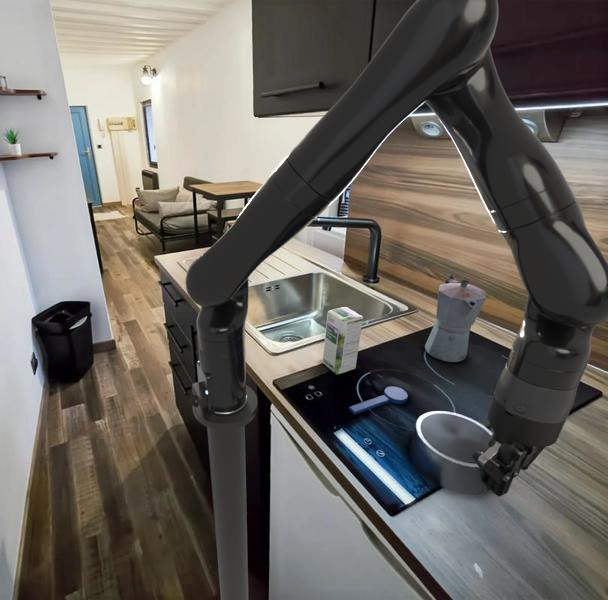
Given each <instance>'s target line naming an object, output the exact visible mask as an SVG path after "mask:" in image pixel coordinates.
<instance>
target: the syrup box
mask: <svg viewBox="0 0 608 600" xmlns="http://www.w3.org/2000/svg"><path fill="white" fill-rule="evenodd" d="M363 321H364V316H363V315H361V314H358V312H356V311H354V310H353V309H350V308H349V307H347V306H344V307H337V308H334V309H330V310H327V314H326V323H325V333H324V334H325V335H324V343H323V352H322V353H323V354H322V364H323V365H325V366H326V367H327V368H328V369H329V370H331V371H332V372H333V373H334V374H335V375H341V374H344V373H347V372H349V371H353V370H355V369H356V367H357V360H358V354H359V346H360V340H361V333H362V327H363Z"/></svg>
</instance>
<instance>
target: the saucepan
mask: <svg viewBox="0 0 608 600" xmlns="http://www.w3.org/2000/svg"><path fill="white" fill-rule="evenodd" d="M491 429H493V428H492V426H491V424H490V423H489V421H488V418H487V417H485V418H484V419H482V420H479V421H477V420H475V419H473V418H471V417H468V416H466V415H464V414H460V413H456V412H451V411H445V410H434V411H433V410H432V411H428V412H425V413H423V414H421V415H420V416H419V417H418V418H417V420H416V422H415V426H414V429H413V430H414V431H413V434H412V438H411V443H410V447H409V455H410V459H411V461H412V463H413V465H414V467H415V468H416V469H417V471H419V472H420V474H421V475H423V476H424V477H425V478H426V479H428V480H429V481H430V482H432V483H433V484H434V485H437V486H438V487H441V488H442V489H444V490H448V491H450V492H453V493H456V494H462V495H479V494H482V493H485V492H487V491H488V490H489V489H488V488H487V486H486V483H487V480H488V477H489V475H488V474H486V473H485V472H483V471H482V470H481V469H480V468H479V466H478V465H477V463H476V462H475V461H474V459H473V458H472V456H473V454H474V453H475V452H477V451H478V452H480V453H481V452H483V453H485V452H486V451H487V450H488V449H489V445H488V442H489V440H490V438H491V435H492V434H493V433H494V432H493V431H491Z"/></svg>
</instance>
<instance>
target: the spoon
mask: <svg viewBox="0 0 608 600" xmlns="http://www.w3.org/2000/svg"><path fill="white" fill-rule="evenodd" d="M408 396H409V394H408V392H407V391H406V390H404V388H401V387H398V386H387V387H386V388H385V389H384V392H383V395H380V396H377V397H373V398H371V399H368V400H365V401H363V402H359V403H357V404H354V405H351V406H348V411H349V412H351V414H353V415H357V414H360V413H364V412H367V411H369V410H371V409H375V408H378V407H380V406H383V405H386V404H388V403H390V402H391V403H393V404H397V405H400V404H405V403H406V402H407V401H408Z"/></svg>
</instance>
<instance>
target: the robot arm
mask: <svg viewBox="0 0 608 600" xmlns="http://www.w3.org/2000/svg"><path fill="white" fill-rule="evenodd" d="M498 22H499V2H498V0H416V1H415V2H414V3H413V4H412V5H411V6H410V7H409V8H408V9H407V11H406V12H405V13H404V15H403V16H402V17H401V18H400V20H399V22H398V23H396V26H395V27H394V28H393V30H392V31H391V32H390V34H389V35H388V37H386V39H385V41H384V42H383V43H382V45H381V46H380V48H379V49H378V50H377V51H376V52H375V54H374V55H373V56H372V57H371V59H370V61H369V62H368V64H367V65H366V66H365V68H364V69H363V71H362V72H361V73H360V74H359V76H358V77H357V78H356V80H355V81H354V82H353V83H352V84H351V86H350V87H348V89H347V90H346V92H345V93H344V94H343V95H342V96H341V97H340V98H339V99H338V100H337V101H336V103H335V104H334V105H333V106H331V107H330V108H329V110H328V111H326V112H325V114H324V115H322V116H321V118H320V119H319V120H318V121H317V122H316V123H315V125H313V127H312V128H311V129H310V130H309V131H308V132H307V133H306V134H305V135H304V137H303V138H301V140H300V141H299V142H298V143H297V144H296V145H295V146H294V147H293V148H292V149H291V150H290V151H289V152H288V154H287V155H286V156H285V157H284V158H283V159H282V160H281V162H280V163H279V164H278V165H277V166H276V168H275V169H274V170H273V171H272V172H271V173H270V175H269V176H268V177H267V178H266V180H264V182H263V184H262V185H260V187H259V188H258V190H257V191H256V192H255V193H254V195H253V196H252V197H251V199H249V201H248V203H247V204H246V205H245V207H243V209H242V211H241V212H240V214H239V215H238V217H237V218H236V219H235V221H234V222H233V224H232V225H231V226H230V227H229V229H227V230H226V231H225V232H224V234H223V235H222V236H221V237H219V239H218V240H217V241H216V242H214V243H213V245H212V246H210V247H209V248H208V249H207V250H206V251H205V252H204V253H202V254H200V255H199V256H198V257H197V258H196V259H195V260H194V261H193V262H192V263H191V264H190V266H189V267H188V269H187V272H186V275H185V290H186V292H187V295H188V297H189V299H190V300H191V301H192V302H193V303H194V304H196V305H197V306H200V309H199V311H198V314H197V317H196V335H197V347H198V348H197V349H198V358H199V360H197V361H196V371H197V382H195V383H192V384H191V390H192V395H193V396H192V397H191V399H190V404H191V406H192V405H193V406H194V407H198V405H199V407H200V409H203V408H205V409H206V411H207V412H208V414H209V416H211V415H219V416H229V415H233V414H236V413H238V412H240V411H241V410H242V409H243V408H244V407H245V406H246V403H247V393H246V385H247V364H246V363H247V362H246V361H247V360H246V359H247V358H246V356H247V355H246V321H247V317H248V311H249V283H250V282H249V280H250V279H249V277H250V276H251V275H252V274H253V273H254V271H256V269H257V268H258V267H259V266H260V265H262V263H263V262H265V260H267V259H268V258H269V257H270V256H272V255H273V254H274V253H275V252H277V251H278V250H280V249H282V247H284V246H285V245H286V244H287V243H288V242H290V241H291V240H293V238H295V237H296V236H297V235H298V234H300V233H301V232H302V231H303V230H304V229H305V228H306V227H308V226H309V225H310V224H312V222H314V220H316V219H317V218H318V217H319V216H320V215H321V214H322V213H323V212H324V211H325V210H326V209H327V208H329V206H330V205H332V204H333V203H334V202H335V201H336V200H337V199H338V198H339V197H340V196H341V195H342V193H343V192H344V191H345V190H346V189H347V188H348V187H349V186H350V184H351V183H352V182H353V181H354V180H355V179H356V177H357V176H358V175H359V173H360V172H361V171H362V170H363V168H364V167H365V166H366V164H367V163H368V162H369V160H371V158H372V156H373V155H374V154H375V153H376V151H377V150H378V148H379V147H380V146H381V145H382V143H383V142H384V141H385V140H386V139H387V138H388V136H390V135H391V133H392V132H393V131H394V130H395V129H396V128H397V127H398V126H399V125H400V124H401V123H402V122H403V121H405V120H406V119H407V118H408V117H409V116H410V115H412V114H413V113H414V112H415V111H416V110H417V109H418V108H419V107H421V106H422V105H423V104H424V103H425V104H426V105H427V106H428V107H429V108H430V109H431V111H432V112H433V114H435V116H436V117H437V119H438V120H439V121H440V123H441V124H442V125H443V127H444V128H445V130H446V132H447V133H448V135H449V136H450V138H451V140H452V142H453V143H454V145H455V147H456V149H457V151H458V153H459V154H460V157H461V158H462V161H463V163H464V165H465V167H466V169H467V171H468V174H469V176H470V178H471V180H472V182H473V184H474V186H475V188H476V190H477V192H478V195H479V196H480V199H481V201H482V202H483V204H484V206H485V209H486V211H487V212H488V213H489V216H490V217H491V220H492V222H493V223H494V226H495V227H496V229H497V230H498V233H499V235H500V236H501V238H502V239H503V240H504V242H505V243H506V245H507V246H508V248H509V250H510V253H511V255H512V257H513V260H514V263H515V267H516V269H517V270H518V274H519V277H520V280H521V282H522V284H523V287H524V289H525V291H526V293H527V298H526V303H525V307H524V310H523V311H524V312H523V316H522V321H521V325H520V327H519V329H518V331H517V334H516V336H515V337H514V340H513V342H512V344H511V348H510V350H509V354H508V357H507V360H506V362H505V366H504V367H503V369H502V371H501V373H500V375H499V377H498V379H497V383H496V386H495V389H494V392H493V395H492V398H491V402H490V404H489V407H488V409H487V413H486V418H488V421H489V423H490V424H491V426H492V428H491V429H492V430H493V432H492V433H493V434H492V435H491V438H490V440H489V442H488V445H489V449H488V450H487V451H486V452H485V453H483V452H481V453H480V452H478V451H477V452H475V453H474V454H473V456H472V458H473V459H474V461H475V462H476V463H477V465H478V466H479V468H480V469H481V470H482V471H483V472H485V473H486V474H488V475H489V477H488V480H487V483H486V486H487V488H488V490H489V491H490V492H492V493H493V494H494V495H495V496H497V497H502V496H505V495H507V494H508V492H509V490H510V488H511V485H512V483H513V480H514V479H515V478H517V477H519V474H520V473H521V470H522V471H526V470H528V469H529V467H530V466H531V465H532V463H533V462H534V461H535V460H536V459H537V457H538V456H539V455H540V454H541V453H542V452H543V451H544V449H545V448H546V447H550V446H553V445H554V444H555V443H556V442H557V441H558V439H559V437H560V435H561V433H562V429H563V428H564V426H565V423H566V421H567V419H568V417H569V414H570V412H571V411H572V408H573V406H574V403H575V400H576V396H577V391H578V387H579V385H580V382H581V380H582V378H583V375H584V373H585V371H586V369H587V366H588V364H589V361H590V357H591V353H592V335H593V332H594V329H595V327H596V326H597V325H599V324H603V323H604V322H607V320H608V259H607V258H605V256H604V255H603V253H602V252H601V249H600V248H599V246H598V245H597V243H596V242H595V240H594V238H593V237H592V235H591V233H590V232H589V230H588V228H587V226H586V222H585V218H584V215H583V212H582V209H581V206H580V203H579V202H578V200H577V199H576V198H577V197H576V196H575V194H574V192H573V190H572V189H571V187H570V184H569V183H568V181H567V179H566V178H565V175H564V174H563V171H562V170H561V168H560V167H559V164H557V162H556V160H555V158H553V156H552V154H551V153H550V151H549V150H548V149H547V148H546V146H545V145H544V144H543V142H542V141H541V140H540V139H539V138H538V137H537V135H536V134H535V133H534V131H532V129H531V128H530V127H529V125H528V124H527V123H526V122H525V120H524V119H523V118H522V116H521V115H520V114H519V113H518V112H517V110H516V108H515V107H514V105H513V104H512V102H511V100H510V97H508V95H507V93H506V90H505V89H504V87H503V84H502V82H501V79H500V77H499V74H498V71H497V68H496V64H495V61H494V57H493V54H492V50H491V44H492V42H493V40H494V38H495V35H496V32H497V27H498ZM195 401H197V403H198V404H197V403H196V402H195Z"/></svg>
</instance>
